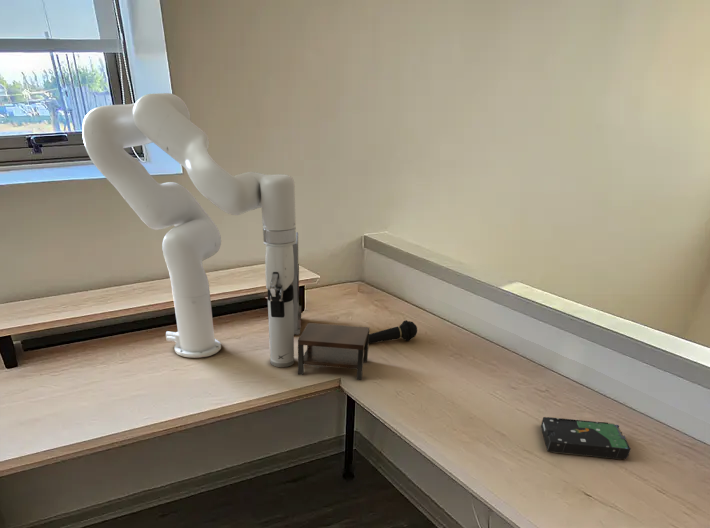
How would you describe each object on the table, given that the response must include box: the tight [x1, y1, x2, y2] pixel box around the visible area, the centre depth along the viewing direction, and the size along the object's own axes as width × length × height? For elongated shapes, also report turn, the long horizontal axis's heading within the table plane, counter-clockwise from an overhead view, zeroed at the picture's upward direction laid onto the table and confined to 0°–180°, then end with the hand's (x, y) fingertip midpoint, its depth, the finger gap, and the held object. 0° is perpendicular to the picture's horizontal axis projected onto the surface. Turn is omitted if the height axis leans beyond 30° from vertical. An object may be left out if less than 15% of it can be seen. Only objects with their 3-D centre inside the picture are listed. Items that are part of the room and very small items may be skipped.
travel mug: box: [267, 285, 295, 368], centre depth 140 cm, size 6×7×20 cm
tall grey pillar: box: [293, 231, 302, 336], centre depth 159 cm, size 14×6×25 cm, turn 179°
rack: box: [297, 322, 370, 381], centre depth 140 cm, size 16×12×9 cm
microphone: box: [368, 320, 418, 345], centre depth 155 cm, size 6×6×20 cm
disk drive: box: [540, 416, 632, 460], centre depth 112 cm, size 10×3×15 cm
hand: (282, 310), depth 137 cm, fingers open, 9 cm apart
